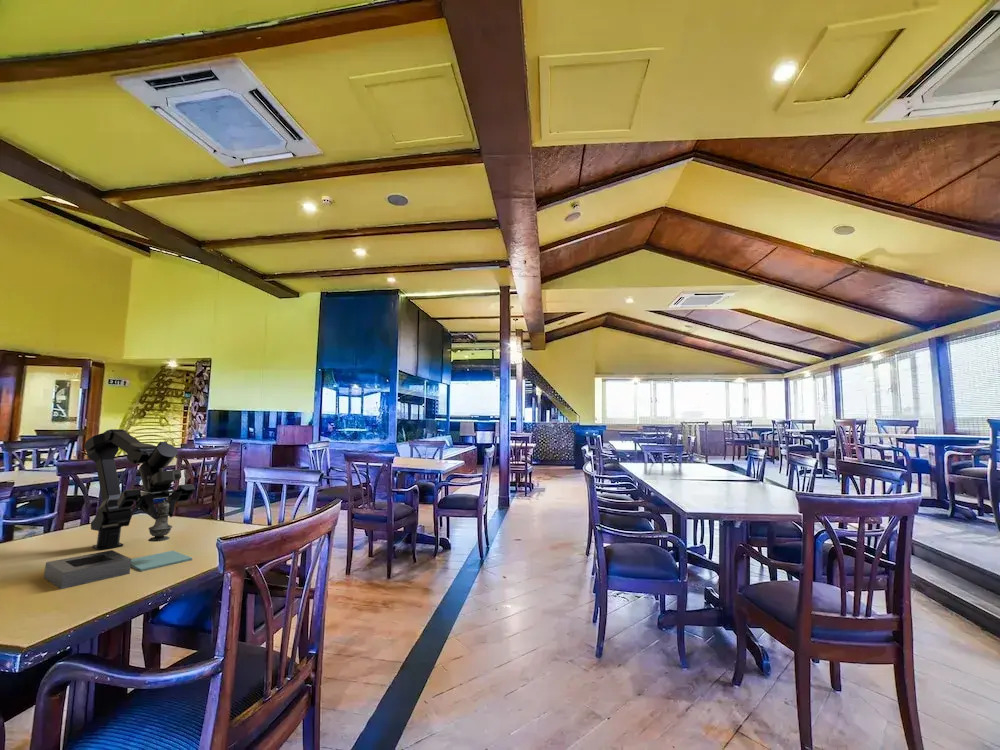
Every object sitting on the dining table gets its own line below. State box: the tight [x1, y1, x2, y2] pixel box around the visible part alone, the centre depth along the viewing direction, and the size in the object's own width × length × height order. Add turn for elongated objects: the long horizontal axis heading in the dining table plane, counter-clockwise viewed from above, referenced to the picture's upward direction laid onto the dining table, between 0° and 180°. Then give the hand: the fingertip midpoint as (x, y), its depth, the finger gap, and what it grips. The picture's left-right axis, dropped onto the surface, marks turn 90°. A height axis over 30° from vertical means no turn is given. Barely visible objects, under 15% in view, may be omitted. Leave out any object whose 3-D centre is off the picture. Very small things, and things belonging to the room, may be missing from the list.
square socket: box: [43, 549, 132, 590], centre depth 119 cm, size 14×14×4 cm
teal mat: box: [130, 550, 193, 572], centre depth 132 cm, size 13×13×1 cm
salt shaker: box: [147, 498, 173, 543], centre depth 133 cm, size 6×6×12 cm
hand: (164, 517), depth 132 cm, fingers closed on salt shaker, 4 cm apart
